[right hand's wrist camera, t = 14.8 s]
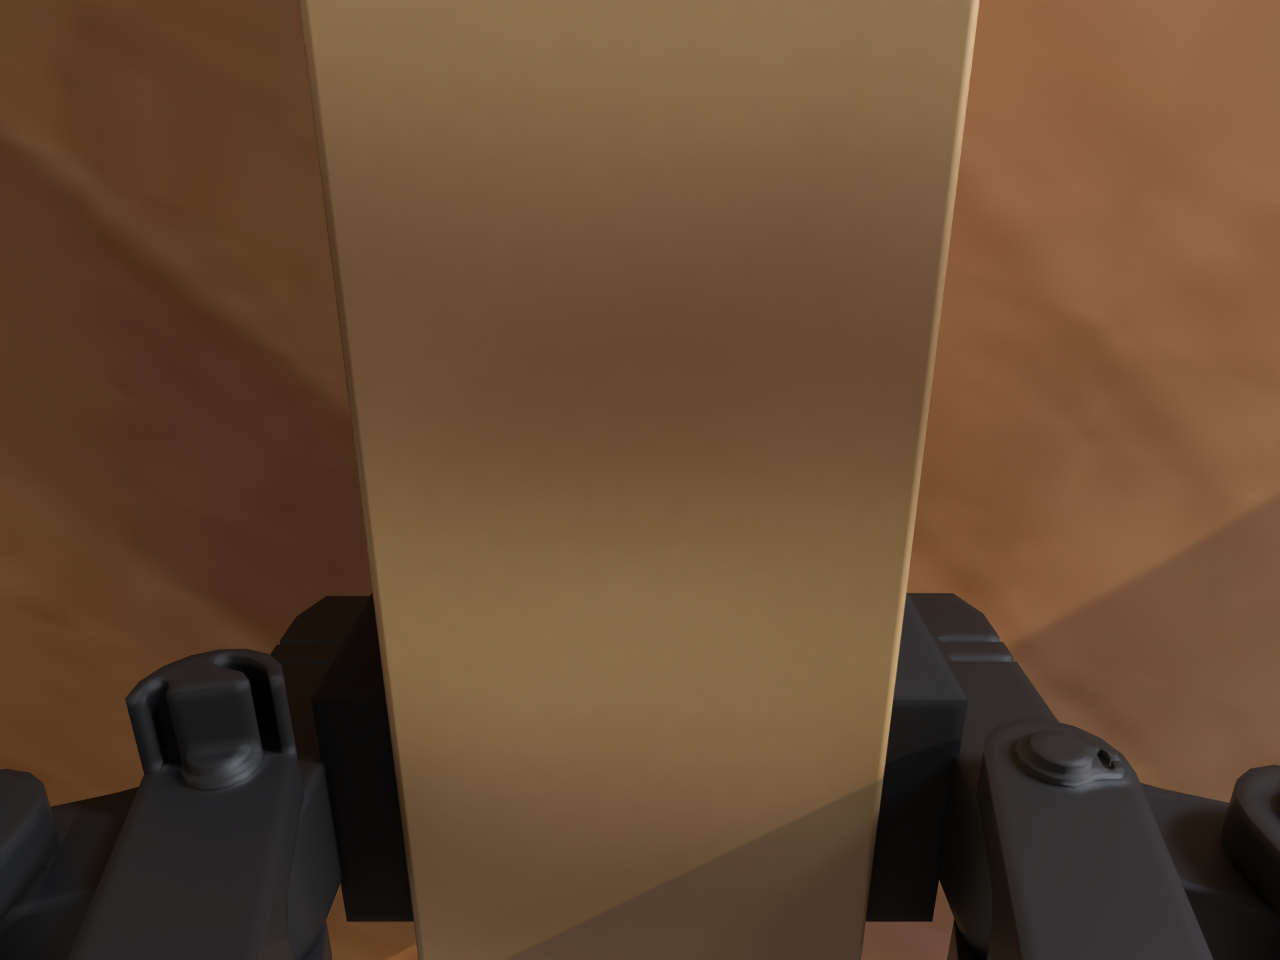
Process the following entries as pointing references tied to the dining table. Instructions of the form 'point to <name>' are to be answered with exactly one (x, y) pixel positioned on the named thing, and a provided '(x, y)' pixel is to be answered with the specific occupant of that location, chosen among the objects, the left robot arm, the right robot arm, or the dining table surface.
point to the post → (639, 445)
